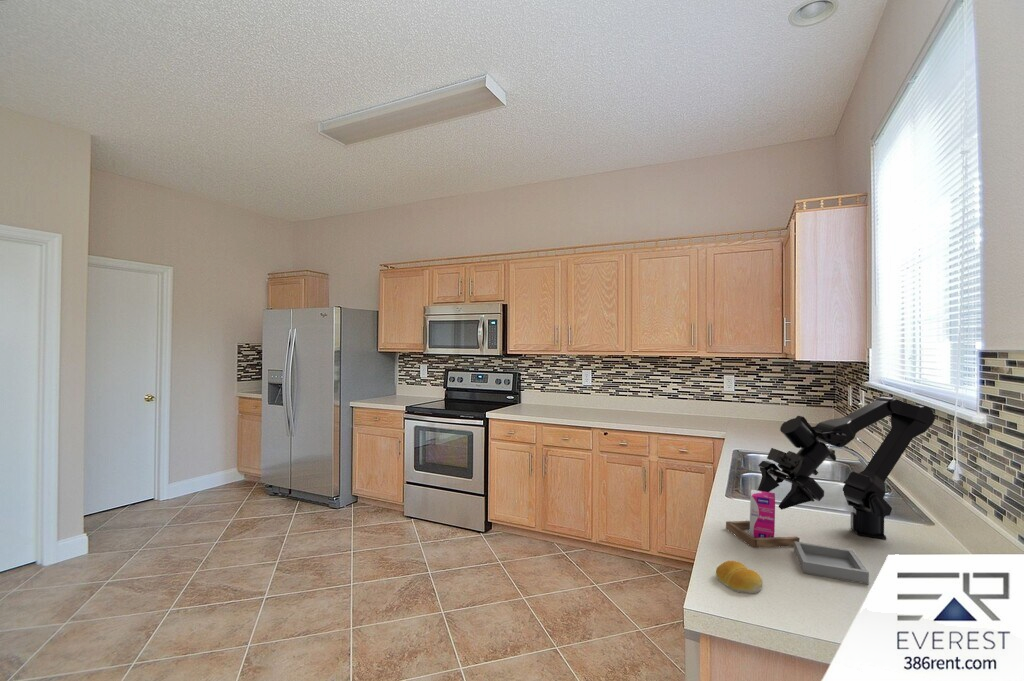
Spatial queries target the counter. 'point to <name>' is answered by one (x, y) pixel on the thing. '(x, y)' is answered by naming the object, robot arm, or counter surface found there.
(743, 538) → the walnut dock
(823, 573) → the grey tray
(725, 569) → the bread roll
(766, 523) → the supplement box
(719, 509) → the counter surface
